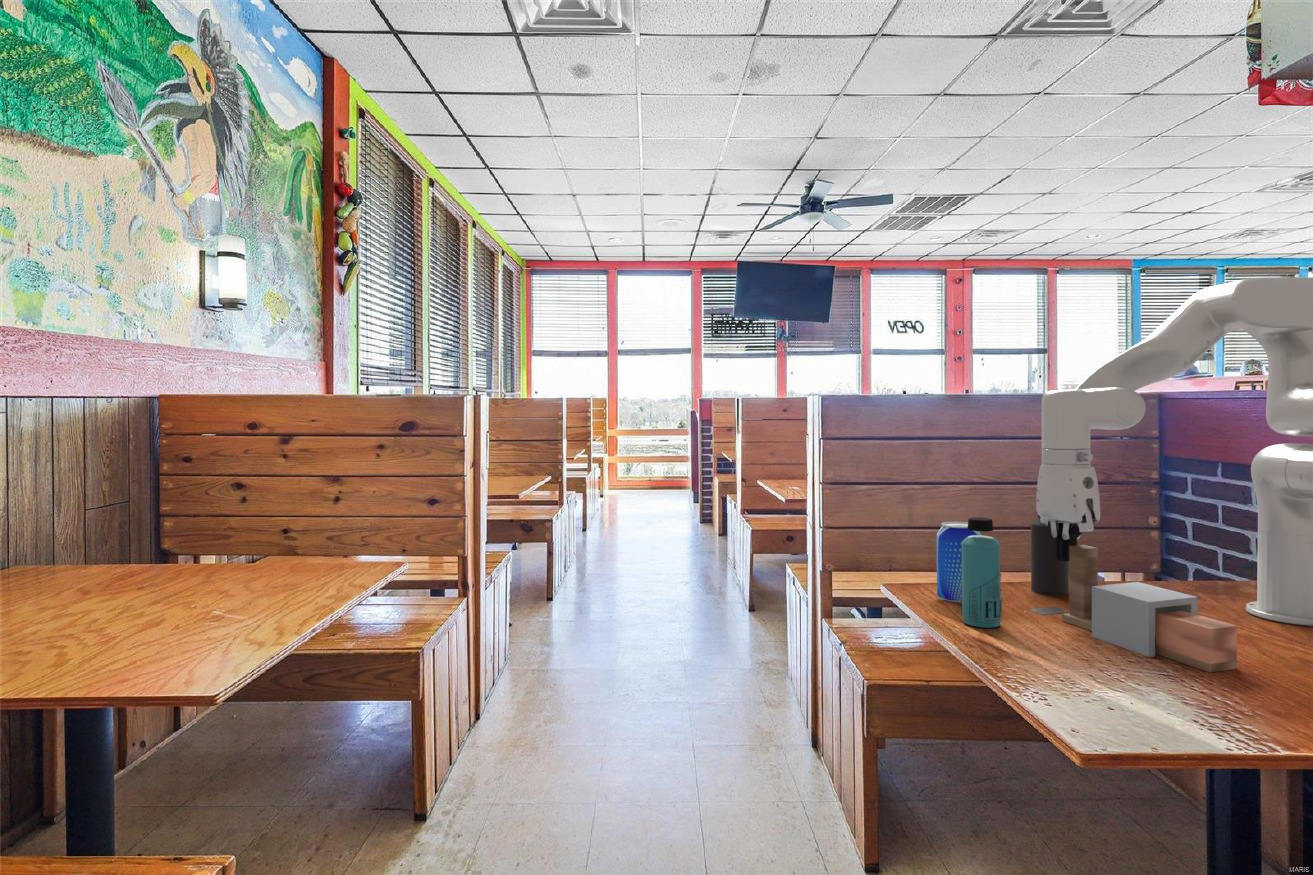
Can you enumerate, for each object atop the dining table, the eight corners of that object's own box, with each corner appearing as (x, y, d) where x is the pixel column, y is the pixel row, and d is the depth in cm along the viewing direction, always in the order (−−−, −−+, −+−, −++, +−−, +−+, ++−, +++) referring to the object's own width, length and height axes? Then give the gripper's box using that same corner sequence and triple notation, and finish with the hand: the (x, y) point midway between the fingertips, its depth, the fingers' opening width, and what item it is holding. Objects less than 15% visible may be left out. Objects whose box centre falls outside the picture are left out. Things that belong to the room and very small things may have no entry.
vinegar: (1025, 592, 145) (1025, 498, 144) (1060, 593, 144) (1060, 498, 143) (1039, 601, 138) (1038, 502, 137) (1075, 602, 137) (1075, 502, 136)
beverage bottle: (985, 638, 116) (985, 521, 115) (952, 628, 122) (951, 517, 121) (1010, 632, 119) (1010, 518, 118) (977, 622, 125) (976, 513, 124)
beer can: (937, 606, 136) (936, 526, 135) (937, 596, 143) (936, 520, 143) (984, 610, 133) (983, 528, 132) (981, 599, 140) (980, 521, 140)
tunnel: (1137, 632, 115) (1137, 581, 115) (1197, 651, 105) (1197, 596, 105) (1091, 637, 113) (1091, 586, 113) (1148, 658, 103) (1148, 602, 103)
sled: (1085, 618, 122) (1085, 543, 122) (1236, 668, 98) (1237, 575, 97) (1062, 620, 121) (1062, 545, 121) (1209, 672, 97) (1210, 578, 96)
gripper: (1119, 460, 116) (1119, 567, 117) (1050, 455, 131) (1050, 551, 131) (1083, 461, 115) (1083, 570, 115) (1016, 457, 129) (1017, 553, 130)
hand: (1065, 559), depth 123 cm, fingers closed
